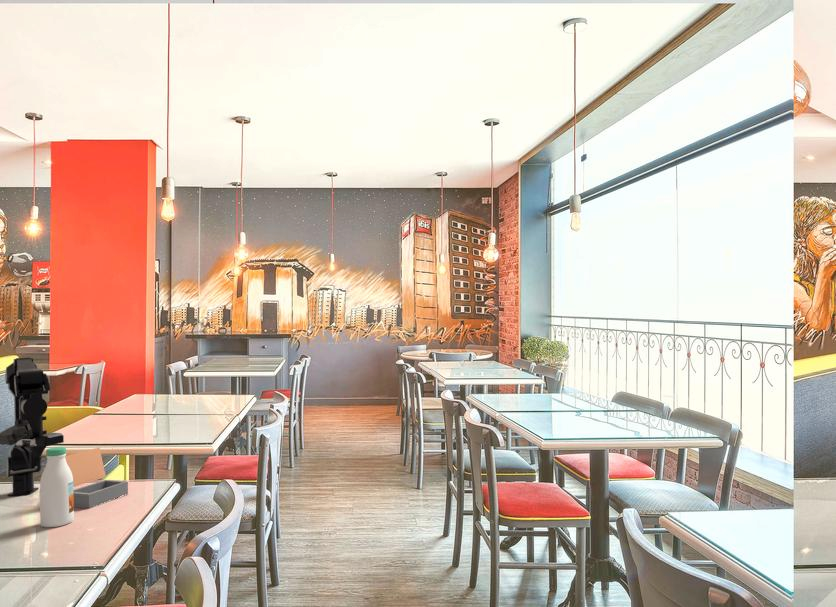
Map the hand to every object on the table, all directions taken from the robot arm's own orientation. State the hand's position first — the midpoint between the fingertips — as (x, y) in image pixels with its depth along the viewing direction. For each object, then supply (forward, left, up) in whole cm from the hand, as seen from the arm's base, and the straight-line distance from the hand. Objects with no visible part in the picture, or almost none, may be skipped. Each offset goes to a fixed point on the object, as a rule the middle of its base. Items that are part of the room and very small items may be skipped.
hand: (32, 468), depth 174 cm
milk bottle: (+14, +12, -12) cm, 22 cm away
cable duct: (-6, +15, -12) cm, 20 cm away
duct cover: (-9, +11, -3) cm, 14 cm away
